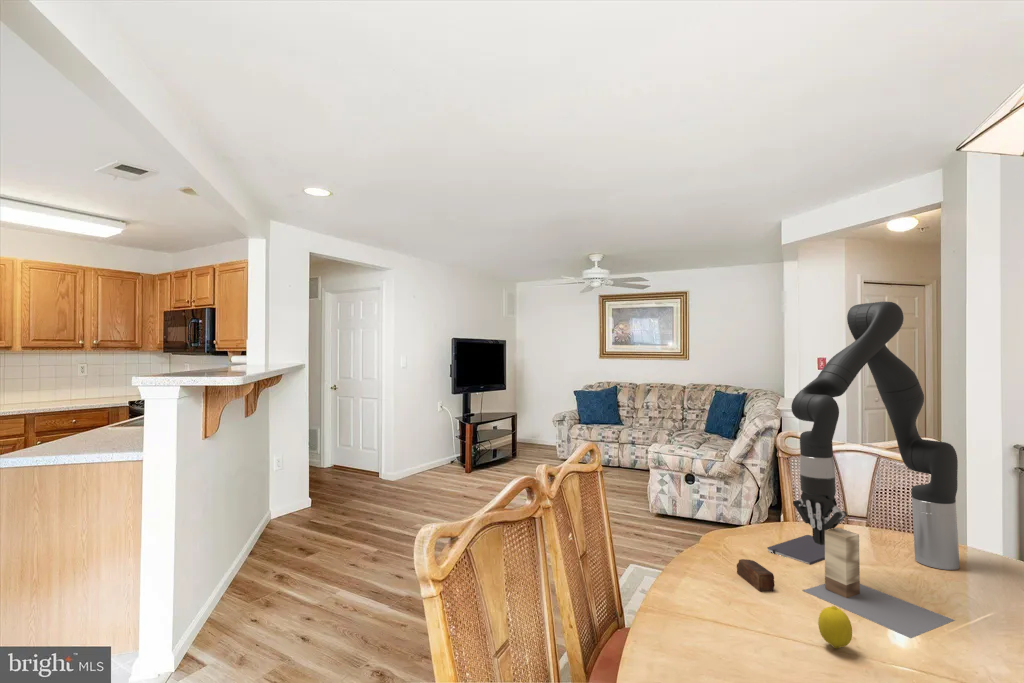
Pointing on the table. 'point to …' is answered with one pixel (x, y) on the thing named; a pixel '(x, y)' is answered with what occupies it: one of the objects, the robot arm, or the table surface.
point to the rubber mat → (884, 610)
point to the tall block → (842, 562)
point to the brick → (756, 575)
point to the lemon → (835, 627)
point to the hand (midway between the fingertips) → (820, 543)
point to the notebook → (800, 549)
